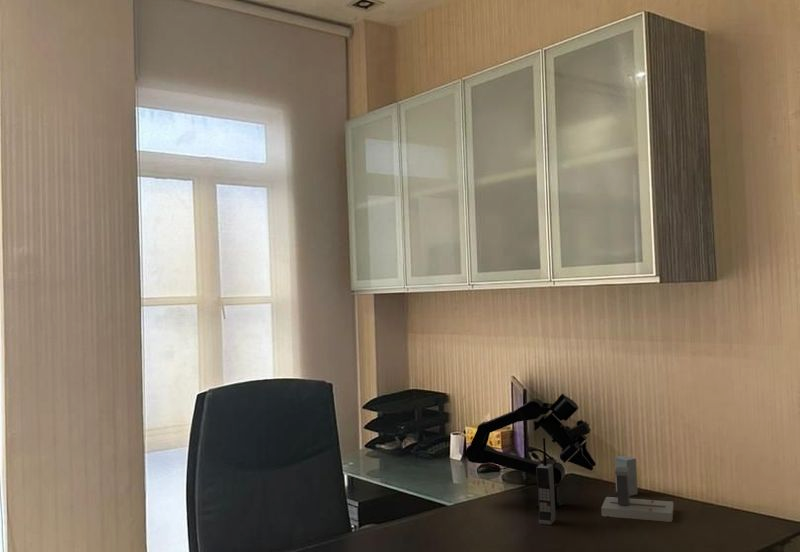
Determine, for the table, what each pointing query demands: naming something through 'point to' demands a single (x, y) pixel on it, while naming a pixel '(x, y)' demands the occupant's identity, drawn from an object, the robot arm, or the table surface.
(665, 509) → the block
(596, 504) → the table surface
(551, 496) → the vintage mobile phone
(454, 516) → the table surface
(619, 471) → the fader tab
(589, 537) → the table surface
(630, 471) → the skincare box
